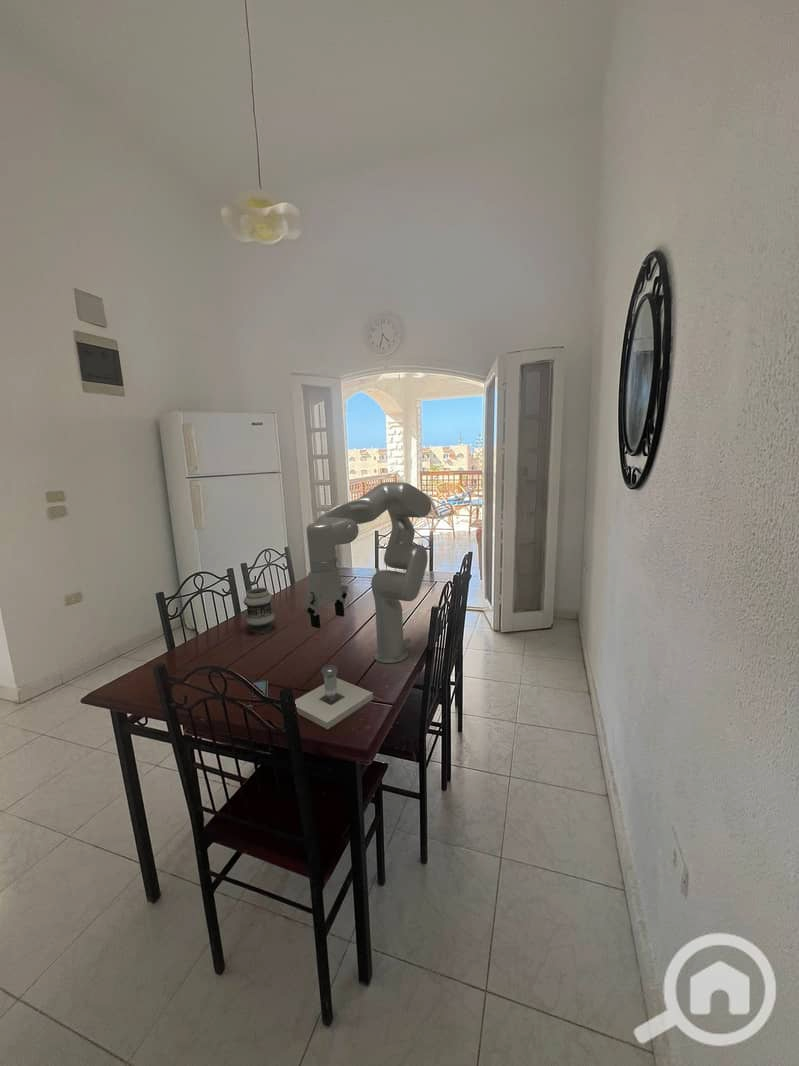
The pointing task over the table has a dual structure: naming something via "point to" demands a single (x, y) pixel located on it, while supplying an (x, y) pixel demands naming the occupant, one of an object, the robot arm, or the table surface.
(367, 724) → the table surface
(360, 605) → the table surface
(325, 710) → the socket plate
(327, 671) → the peg
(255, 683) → the smartphone
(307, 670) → the table surface
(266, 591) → the apothecary jar
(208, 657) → the table surface
